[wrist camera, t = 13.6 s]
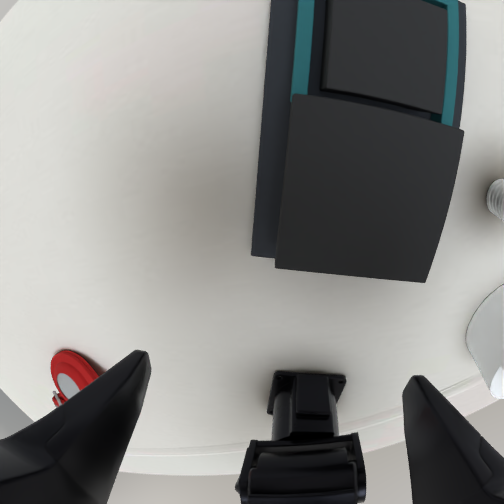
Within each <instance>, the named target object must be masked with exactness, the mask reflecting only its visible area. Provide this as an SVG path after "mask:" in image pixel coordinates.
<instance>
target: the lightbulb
mask: <svg viewBox="0 0 504 504" xmlns="http://www.w3.org/2000/svg"><path fill="white" fill-rule="evenodd" d="M487 206H488V208H489V210H490V212H491V213H493V214H494V215H495V216H497V217H498V218H500V219H501V220H502V221H504V179H498V180H496V181H495V182H493V183H492V185H491V186H490V188H489V190H488V193H487Z"/></svg>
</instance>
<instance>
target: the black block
mask: <svg viewBox="0 0 504 504" xmlns="http://www.w3.org/2000/svg"><path fill="white" fill-rule="evenodd" d="M447 28H448V23H447V10H445V9H443V8H440V7H438V6H435V5H433V4H430V3H427V2H425V1H422V0H326V9H325V25H324V39H323V52H322V65H321V76H320V87H319V90H320V91H324V92H331V93H337V94H343V95H348V96H354V97H359V98H364V99H369V100H374V101H378V102H383V103H387V104H392V105H396V106H400V107H404V108H408V109H411V110H415V111H419V112H427V113H434V114H442V107H443V98H444V88H445V77H446V61H447Z"/></svg>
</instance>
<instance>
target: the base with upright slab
mask: <svg viewBox="0 0 504 504" xmlns="http://www.w3.org/2000/svg"><path fill="white" fill-rule="evenodd" d="M466 345H467V347H468V349H469V351H470V353H471V355H472V357H473V359H474V361H475V362H476V364H477V366H478V368H479V370H480V372H481V374H482V376H483V378H484V380H485V382H486V384H487V386H488V388H489V391H490V393H491V395H492V396H494V397H495V398H501V399H503V398H504V285H502V286H500V287H499V288H497V289H496V290H495V291H494V292H493V293H491V294H490V295H489V296H488V297H487V298H486V299H485V301H484V302H483V303H482V304H481V305H480V306H479V308H478V309H477V311H476V312H475V314H474V315H473V317H472V319H471V321H470V323H469V325H468V329H467V333H466Z"/></svg>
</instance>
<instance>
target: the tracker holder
mask: <svg viewBox="0 0 504 504" xmlns="http://www.w3.org/2000/svg"><path fill="white" fill-rule="evenodd" d="M51 374H52V378H53V381H54V383H55V385H56V387H57V389H58V391H59V392H60V393H58V394H57V393H56V391H53V394H54V397H53V398H52V400H53V402H54V405H55V406H56V407H59V406H60V405H61V404H64V402H66V401H67V400H68V399H70V398H71V397H72V396H74V395H75V394H76V393H78V392H79V391H80V390H82V389H83V388H85V387H86V386H87V385H89V384H90V383H91V382H93V381H94V380H95V379H97V378H98V377H99V376H98V375H97V373H96V372H95V371H94V370H93V368H92V367H91V366H90V365H89V364H88V362H87V361H86V360H85V359H84V358H82V357H81V356H80V355H78V354H76V353H74V352H72V351H68V350H64V351H61V352H59V353H58V354H56V355H55V356H54V357H53V358H52V360H51Z"/></svg>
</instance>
